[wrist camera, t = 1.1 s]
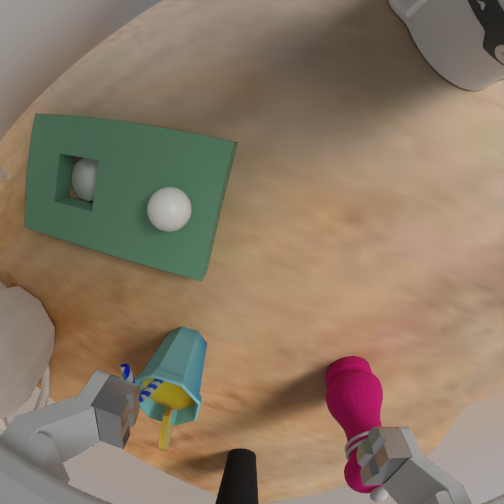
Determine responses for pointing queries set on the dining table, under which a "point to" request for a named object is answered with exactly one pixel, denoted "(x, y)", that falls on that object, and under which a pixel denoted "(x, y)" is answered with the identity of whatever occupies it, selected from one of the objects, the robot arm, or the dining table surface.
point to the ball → (169, 209)
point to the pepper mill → (355, 413)
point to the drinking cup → (239, 479)
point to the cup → (172, 381)
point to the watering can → (23, 350)
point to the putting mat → (125, 188)
